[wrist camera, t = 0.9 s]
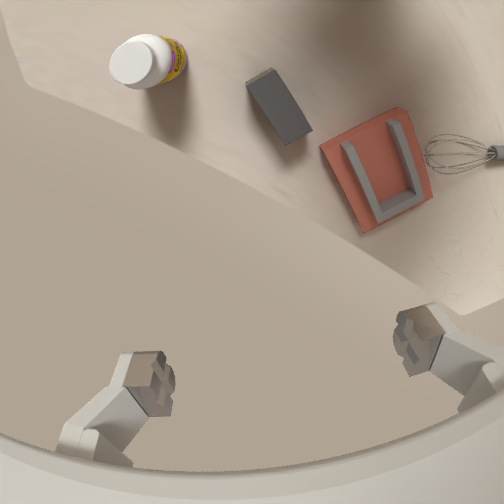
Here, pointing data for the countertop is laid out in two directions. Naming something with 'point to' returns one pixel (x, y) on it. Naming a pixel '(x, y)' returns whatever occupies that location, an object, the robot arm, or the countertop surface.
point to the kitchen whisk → (494, 153)
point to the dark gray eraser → (278, 105)
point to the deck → (379, 168)
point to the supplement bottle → (147, 61)
